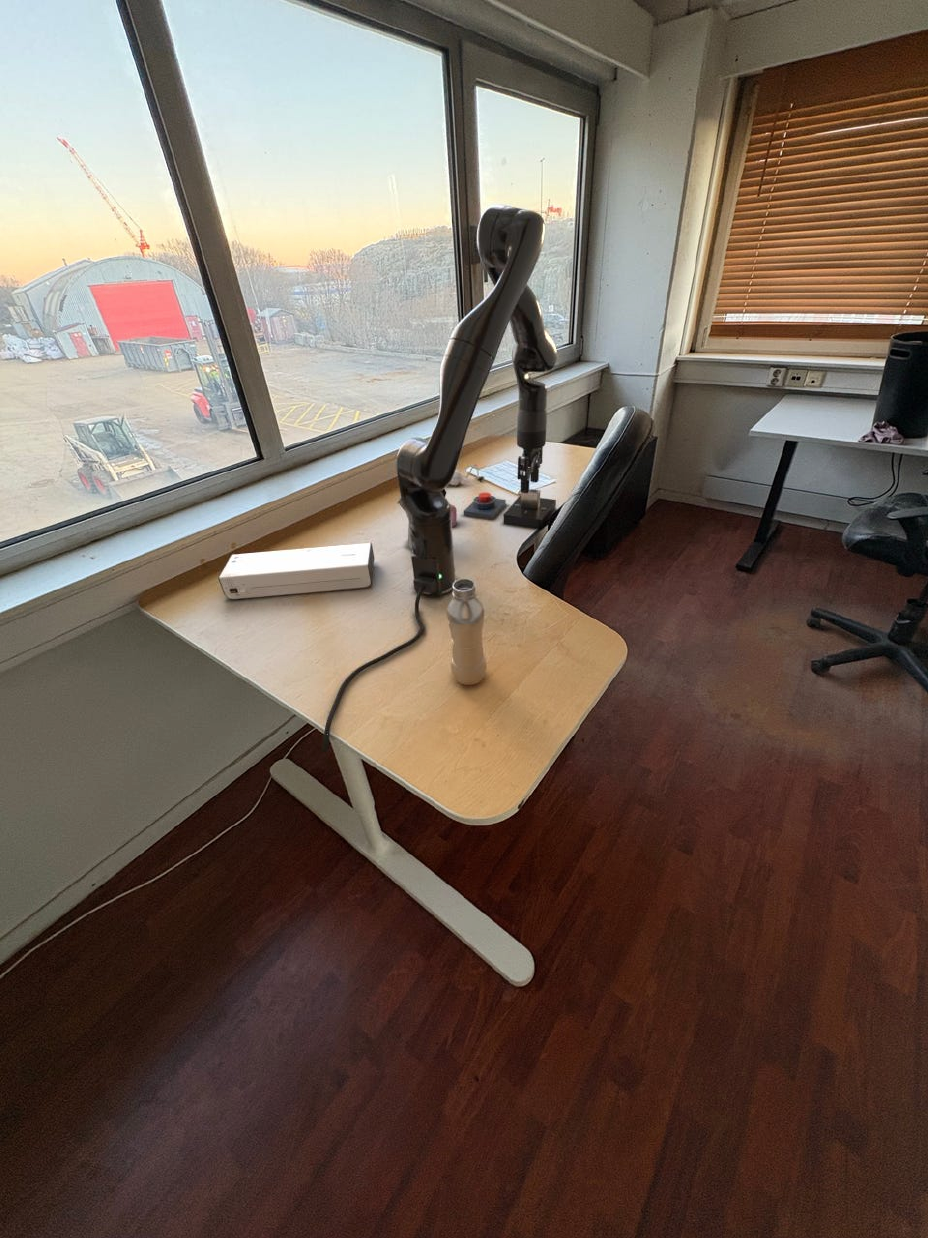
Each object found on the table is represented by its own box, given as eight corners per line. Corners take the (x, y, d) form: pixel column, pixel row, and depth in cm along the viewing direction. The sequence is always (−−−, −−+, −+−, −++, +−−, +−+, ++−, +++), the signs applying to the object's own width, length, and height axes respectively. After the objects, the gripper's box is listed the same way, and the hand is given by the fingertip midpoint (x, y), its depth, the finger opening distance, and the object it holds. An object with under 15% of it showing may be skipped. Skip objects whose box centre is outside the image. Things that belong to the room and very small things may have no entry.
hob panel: (541, 529, 138) (541, 519, 136) (503, 524, 142) (503, 513, 140) (555, 509, 148) (556, 499, 146) (519, 504, 152) (520, 494, 150)
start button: (488, 503, 146) (488, 497, 145) (476, 502, 148) (476, 496, 147) (492, 498, 149) (492, 493, 148) (481, 497, 150) (481, 491, 149)
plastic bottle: (485, 663, 95) (482, 572, 83) (488, 689, 89) (485, 595, 78) (451, 665, 95) (443, 574, 83) (452, 691, 89) (443, 597, 78)
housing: (492, 520, 145) (492, 508, 143) (463, 516, 148) (463, 504, 146) (505, 505, 153) (505, 494, 150) (478, 501, 156) (478, 490, 154)
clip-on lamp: (480, 482, 176) (429, 473, 175) (484, 464, 173) (432, 455, 171) (482, 492, 166) (428, 483, 164) (486, 473, 163) (430, 463, 161)
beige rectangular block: (539, 506, 143) (540, 489, 140) (537, 509, 142) (538, 492, 139) (523, 504, 145) (523, 487, 142) (520, 507, 143) (520, 490, 140)
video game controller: (457, 526, 146) (457, 501, 145) (455, 526, 141) (455, 501, 140) (424, 526, 147) (423, 502, 146) (421, 526, 142) (420, 501, 141)
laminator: (375, 564, 128) (371, 542, 124) (372, 590, 118) (368, 567, 114) (239, 575, 126) (231, 554, 123) (225, 603, 116) (216, 580, 113)
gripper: (537, 435, 124) (534, 498, 133) (553, 420, 134) (550, 479, 144) (508, 433, 127) (508, 494, 136) (526, 418, 137) (525, 476, 146)
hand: (529, 487), depth 140 cm, fingers open, 8 cm apart
